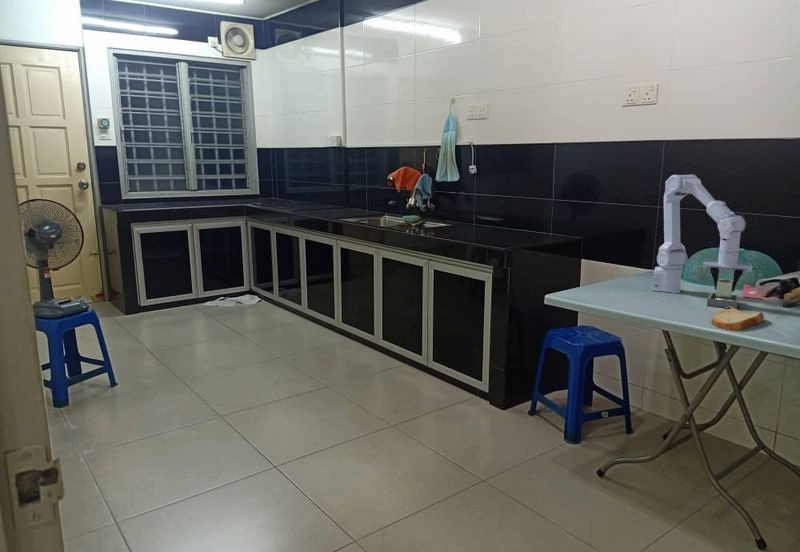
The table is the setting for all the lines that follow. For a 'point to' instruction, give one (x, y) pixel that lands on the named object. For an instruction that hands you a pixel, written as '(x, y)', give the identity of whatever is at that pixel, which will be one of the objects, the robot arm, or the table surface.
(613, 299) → the table surface
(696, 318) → the table surface
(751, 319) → the bread slice
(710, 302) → the grey rectangular tray
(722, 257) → the robot arm
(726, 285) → the small crate
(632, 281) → the table surface
